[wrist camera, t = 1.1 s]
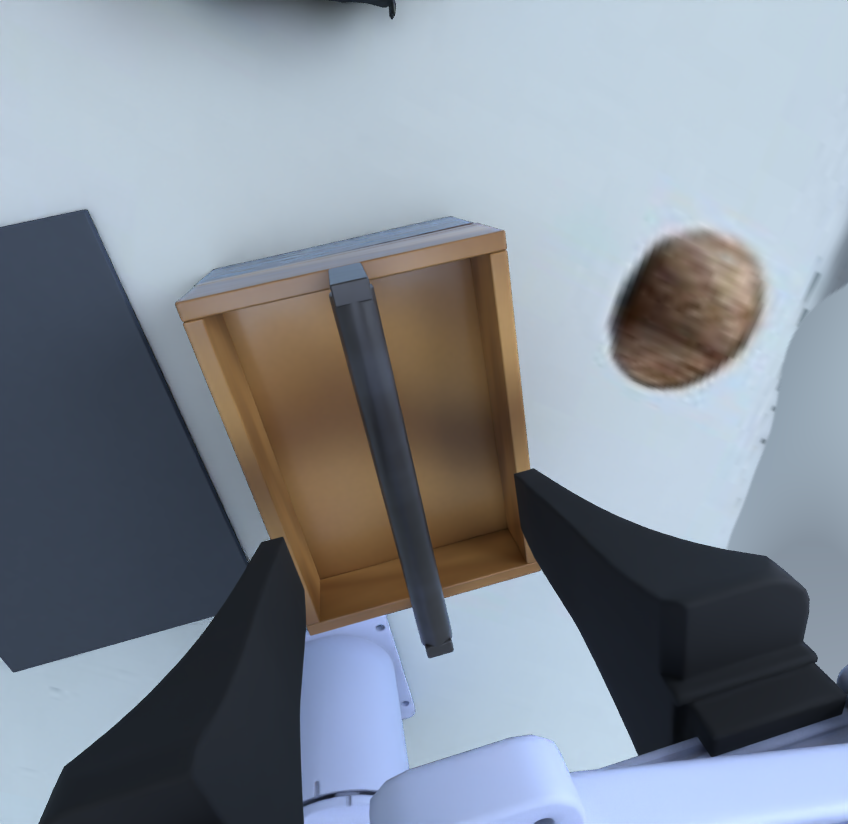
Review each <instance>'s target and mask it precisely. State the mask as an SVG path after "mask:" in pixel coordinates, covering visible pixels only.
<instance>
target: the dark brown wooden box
mask: <svg viewBox="0 0 848 824" xmlns="http://www.w3.org/2000/svg"><path fill="white" fill-rule="evenodd" d="M470 224H474V223H473V222H469V221H466V220H462V219H458V218H455V217H452V216H450V217H445V218H441V219H436V220H432V221H427V222H423V223H418V224H414V225H409V226H405V227H400V228H396V229H392V230H387V231H383V232H378V233H374V234H369V235H365V236H360V237H356V238H351V239H347V240H342V241H338V242H333V243H329V244H325V245H320V246H316V247H311V248H307V249H302V250H298V251H293V252H289V253H284V254H280V255H275V256H271V257H267V258H262V259H258V260H253V261H249V262H244V263H240V264H235V265H231V266H226V267H222V268H217V269H213V270H212V271H211V272H210V273H209V274H208V275H206V276H205V277H204V278H203V279H202V280H200V281H199V282H198V283H197V284H199V283H204V282H208V281H213V280H218V279H222V278H227V277H231V276H236V275H241V274H245V273H250V272H254V271H259V270H263V269H268V268H273V267H277V266H282V265H286V264H291V263H295V262H300V261H305V260H309V259H314V258H318V257H323V256H328V255H332V254H337V253H341V252H346V251H350V250H355V249H360V248H364V247H369V246H373V245H378V244H383V243H387V242H392V241H396V240H401V239H405V238H410V237H415V236H419V235H424V234H428V233H433V232H438V231H442V230H447V229H451V228H456V227H460V226H465V225H470ZM197 284H196V285H197ZM196 285H194V286H196Z"/></svg>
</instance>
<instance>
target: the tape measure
mask: <svg viewBox="0 0 848 824" xmlns="http://www.w3.org/2000/svg"><path fill="white" fill-rule="evenodd" d="M330 1H336V2H342V3H346V2H358V3H367V4H372V5H376V6H379V7H388V6H389V16H390V18H391V19H393V17H394V16H395V11H396V3H395V0H330Z"/></svg>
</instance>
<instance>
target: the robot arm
mask: <svg viewBox="0 0 848 824" xmlns="http://www.w3.org/2000/svg"><path fill="white" fill-rule="evenodd" d="M514 481H515V488H516V496H517V503H518V511H519V518H520V526H521V530H522V532H523V534H524V537H525V539H526V541H527V543H528V546H529V548H530V550H531V552H532V554H533V556H534V558H535V560H536V561H537V563H538V565H539V566H540V568H541V569H542V571H543V573H544V574H545V576H546V577H547V579H548V581H549V582H550V584H551V585H552V587H553V589H554V590H555V592H556V593H557V595H558V596H559V598H560V600H561V601H562V603H563V604H564V606H565V607H566V609H567V611H568V612H569V614H570V615H571V617H572V619H573V620H574V622H575V624H576V626H577V627H578V629H579V631H580V633H581V635H582V637H583V639H584V641H585V643H586V645H587V647H588V649H589V651H590V653H591V655H592V657H593V659H594V661H595V663H596V665H597V667H598V669H599V671H600V673H601V675H602V677H603V679H604V681H605V684H606V686H607V688H608V690H609V692H610V694H611V696H612V698H613V700H614V703H615V705H616V707H617V709H618V711H619V714H620V716H621V718H622V720H623V722H624V725H625V727H626V729H627V731H628V733H629V735H630V738H631V740H632V742H633V745H634V747H635V749H636V751H637V754H638V756H637V757H634V758H630V759H627V760H624V761H621V762H618V763H615V764H612V765H609V766H606V767H603V768H600V769H595V770H586V771H576V772H569V771H568V769H567V766H566V764H565V762H564V759H563V757H562V754H561V752H560V751H559V749H558V748H557V746H556V745H555V743H554V742H553V741H551V740H549V739H545V738H542V737H538V736H535V735H524V736H517V737H511V738H507V739H504V740H501V741H498V742H494V743H491V744H488V745H485V746H482V747H479V748H476V749H472V750H469V751H466V752H463V753H460V754H457V755H453V756H450V757H447V758H444V759H441V760H438V761H434V762H431V763H428V764H425V765H422V766H419V767H416V768H412V769H409V763H408V756H407V749H406V743H405V736H404V730H403V723H402V720H403V719H407V718H410V717H412V716H413V715H414V714H415V706H414V702H413V699H412V696H411V693H410V690H409V686H408V683H407V680H406V677H405V674H404V671H403V667H402V664H401V661H400V658H399V655H398V651H397V648H396V645H395V642H394V639H393V636H392V632H391V629H390V626H389V623H388V620H387V616H386V615H383V616H380V617H376V618H372V619H369V620H365V621H362V622H358V623H355V624H351V625H348V626H344V627H341V628H337V629H334V630H330V631H327V632H323V633H320V634H316V635H313V636H310V634H309V632H308V631H306V605H305V590H304V587H303V585H302V582H301V580H300V577H299V575H298V572H297V570H296V567H295V565H294V562H293V560H292V557H291V555H290V552H289V550H288V547H287V545H286V542H285V540H284V537H279V538H275V539H272V540H268V541H264V542H261V544H260V546H259V547H258V549H257V550H256V552H255V554H254V555H253V557H252V559H251V560H250V562H249V564H248V566H247V567H246V569H245V571H244V572H243V574H242V576H241V577H240V579H239V581H238V582H237V584H236V585H235V587H234V589H233V590H232V592H231V593H230V595H229V596H228V598H227V600H226V601H225V603H224V604H223V606H222V607H221V608H220V610H219V611H218V613H217V614H216V616H215V617H214V619H213V620H212V621H211V623H210V624H209V626H208V627H207V628H206V630H205V631H204V632H203V634H202V635H201V636H200V637H199V639H198V640H197V641H196V642H195V644H194V645H193V646H192V647H191V648H190V650H189V651H188V652H187V653H186V654H185V656H184V657H183V658H182V659H181V660H180V661H179V663H178V664H177V665H176V666H175V667H174V668H173V669H172V670H171V671H170V672H169V673H168V674H167V675H166V676H165V677H164V678H163V680H162V681H161V682H160V683H159V684H158V685H157V686H156V687H155V688H154V689H153V690H152V691H151V692H150V693H149V694H148V695H147V696H146V697H145V698H144V699H143V700H142V701H141V702H140V703H139V704H138V705H137V706H136V707H135V708H134V709H132V710H131V711H130V712H129V713H128V714H127V715H126V716H125V717H124V718H122V719H121V720H120V721H119V722H118V723H117V724H116V725H115V726H113V727H112V728H111V729H110V730H109V731H108V732H107V733H105V734H104V735H103V736H102V737H100V738H99V739H98V740H97V741H95V742H94V743H93V744H92V745H91V746H89V747H88V748H87V749H86V750H84V751H83V752H82V753H81V754H80V755H78V756H77V757H76V758H75V759H73V760H72V761H71V762H69V763H68V764H67V765H66V766H64V768H63V770H62V772H61V774H60V776H59V778H58V781H57V783H56V785H55V787H54V789H53V791H52V794H51V796H50V798H49V801H48V803H47V805H46V808H45V810H44V812H43V815H42V817H41V819H40V822H39V824H848V665H847V666H846V667H844V668H843V669H842V670H841V672H840V673H839V675H838V678H837V684H835V682H834V681H833V680H831V679H830V678H829V677H828V676H827V675H826V674H825V673H824V672H823V671H822V670H821V669H820V668H819V667H818V666H817V665H816V664H815V662H817V659H818V657H817V655H816V653H815V652H814V651H813V650H812V649H811V648H810V647H809V646H808V645H806V644H805V643H804V642H803V639H804V634H805V629H806V624H807V619H808V615H809V596H808V593H807V591H806V589H805V588H804V587H803V586H802V585H801V584H800V583H799V582H797V581H796V580H795V579H794V578H793V577H792V576H790V575H789V574H788V573H787V572H786V571H785V570H784V569H782V568H781V567H780V566H778V565H777V564H776V563H775V562H773V561H772V560H771V559H769V558H768V557H767V556H762V555H756V554H750V553H743V552H737V551H731V550H725V549H720V548H716V547H711V546H707V545H703V544H698V543H694V542H690V541H687V540H683V539H679V538H676V537H673V536H670V535H667V534H663V533H660V532H657V531H654V530H651V529H648V528H646V527H643V526H641V525H638V524H636V523H633V522H631V521H628V520H626V519H623V518H621V517H619V516H616V515H614V514H612V513H610V512H608V511H606V510H604V509H602V508H600V507H598V506H596V505H594V504H592V503H590V502H588V501H586V500H585V499H583V498H581V497H579V496H578V495H576V494H574V493H572V492H571V491H569V490H567V489H566V488H564V487H563V486H561V485H559V484H558V483H556V482H554V481H553V480H551V479H550V478H548V477H546V476H545V475H543V474H542V473H540V472H538V471H537V470H535V469H534V468H533V469H530V470H526V471H522V472H519V473H515V474H514ZM378 625H381V626H378Z"/></svg>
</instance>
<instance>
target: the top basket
mask: <svg viewBox="0 0 848 824" xmlns="http://www.w3.org/2000/svg"><path fill="white" fill-rule="evenodd" d="M506 249H507V244H506V235H505V231H504V230H501V229H497V228H494V227H490V226H486V225H483V224H480V223H474V224H470V225H465V226H460V227H456V228H451V229H447V230H442V231H438V232H433V233H428V234H424V235H419V236H415V237H410V238H405V239H401V240H396V241H392V242H387V243H383V244H378V245H373V246H369V247H364V248H360V249H355V250H350V251H346V252H341V253H337V254H332V255H328V256H323V257H318V258H314V259H309V260H305V261H300V262H295V263H291V264H286V265H282V266H277V267H273V268H268V269H263V270H259V271H254V272H250V273H245V274H241V275H236V276H231V277H227V278H222V279H218V280H213V281H208V282H204V283H199V284H197V285H196V286H194V288H192V289H191V290H190V291H189V292H188V293H186V294H185V295H184V296H183V297H182V298H181V299H179V300H178V301H177V302H176V303H175V306H176V308H177V311H178V313H179V316H180V318H181V320H182V322H184V323H183V326H184V328H185V331H186V333H187V336H188V338H189V340H190V343H191V345H192V348H193V350H194V353H195V355H196V358H197V360H198V362H199V365H200V367H201V370H202V372H203V375H204V377H205V380H206V382H207V385H208V387H209V389H210V392H211V394H212V397H213V399H214V402H215V404H216V407H217V409H218V412H219V414H220V416H221V419H222V421H223V424H224V426H225V429H226V431H227V434H228V436H229V439H230V441H231V443H232V446H233V448H234V451H235V453H236V456H237V458H238V461H239V463H240V465H241V468H242V470H243V473H244V475H245V478H246V480H247V483H248V485H249V488H250V490H251V492H252V495H253V497H254V500H255V502H256V505H257V507H258V510H259V512H260V515H261V517H262V519H263V522H264V524H265V527H266V529H267V532H268V534H269V537H270V539H271V540H272V539H275V538H279V537H284V540H285V542H286V545H287V547H288V550H289V552H290V555H291V557H292V560H293V562H294V565H295V567H296V570H297V572H298V575H299V577H300V580H301V582H302V585H303V587H304V590H305V605H306V627H307V630H308V632H309V634H310V636H313V635H316V634H320V633H323V632H327V631H330V630H334V629H337V628H341V627H344V626H348V625H351V624H355V623H358V622H362V621H365V620H369V619H372V618H376V617H380V616H383V615H387V614H390V613H394V612H397V611H401V610H404V609H408V608H411V607H412V608H413V612H414V616H415V619H416V623H417V627H418V631H419V634H420V638H421V642H422V644H423V645H424V646H425V648H426V652H427V656H428V658H433V657H436V656H440V655H443V654H446V653H450V652H453V650H454V648H453V644H452V640H451V638H452V631H451V626H450V622H449V617H448V613H447V609H446V604H445V600H444V598H446V597H450V596H453V595H457V594H461V593H464V592H468V591H471V590H475V589H478V588H482V587H485V586H489V585H492V584H496V583H499V582H503V581H506V580H510V579H513V578H517V577H520V576H524V575H527V574H531V573H535V572H538V571H540V570H541V568H540V566H539V565H538V563H537V561H536V560H535V558H534V556H533V554H532V552H531V550H530V548H529V546H528V543H527V541H526V539H525V537H524V534H523V532H522V530H521V526H520V518H519V511H518V503H517V496H516V488H515V481H514V474H515V473H519V472H522V471H526V470H530V462H529V453H528V443H527V434H526V424H525V415H524V405H523V396H522V386H521V377H520V367H519V358H518V349H517V339H516V330H515V320H514V311H513V301H512V292H511V282H510V273H509V264H508V254H507V251H506Z"/></svg>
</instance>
